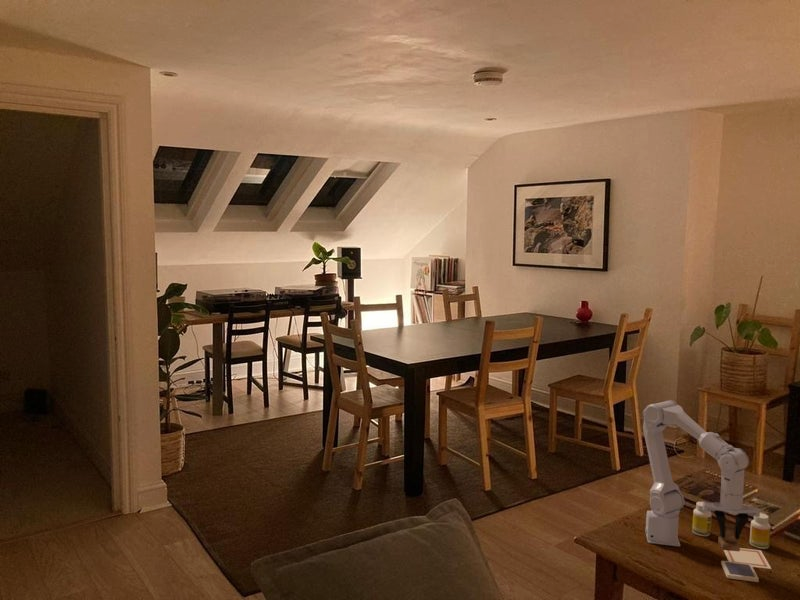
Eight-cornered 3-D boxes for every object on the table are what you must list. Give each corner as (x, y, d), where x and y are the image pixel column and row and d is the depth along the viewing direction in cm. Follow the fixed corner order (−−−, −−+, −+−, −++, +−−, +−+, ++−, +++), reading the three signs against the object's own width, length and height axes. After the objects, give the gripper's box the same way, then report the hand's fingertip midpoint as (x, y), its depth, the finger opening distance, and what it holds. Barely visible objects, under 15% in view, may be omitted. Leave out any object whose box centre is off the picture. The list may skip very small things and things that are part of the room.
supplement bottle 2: (771, 550, 199) (773, 520, 198) (752, 548, 200) (754, 518, 199) (765, 541, 204) (767, 512, 203) (747, 540, 205) (749, 511, 204)
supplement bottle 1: (709, 538, 206) (711, 509, 205) (690, 534, 209) (692, 505, 208) (711, 531, 211) (713, 503, 210) (693, 527, 214) (695, 499, 213)
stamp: (722, 549, 185) (723, 529, 185) (718, 542, 190) (719, 523, 189) (739, 551, 184) (740, 531, 184) (734, 544, 189) (735, 524, 188)
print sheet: (729, 564, 191) (729, 563, 191) (721, 546, 201) (721, 545, 201) (771, 569, 188) (771, 568, 188) (761, 551, 198) (761, 550, 198)
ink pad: (727, 578, 183) (727, 574, 183) (721, 563, 191) (721, 560, 191) (758, 582, 181) (758, 578, 181) (751, 567, 189) (751, 563, 189)
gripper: (706, 494, 183) (704, 540, 185) (763, 499, 180) (761, 546, 181) (702, 485, 190) (700, 529, 192) (757, 490, 186) (754, 535, 188)
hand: (729, 537), depth 187 cm, fingers closed on stamp, 3 cm apart
